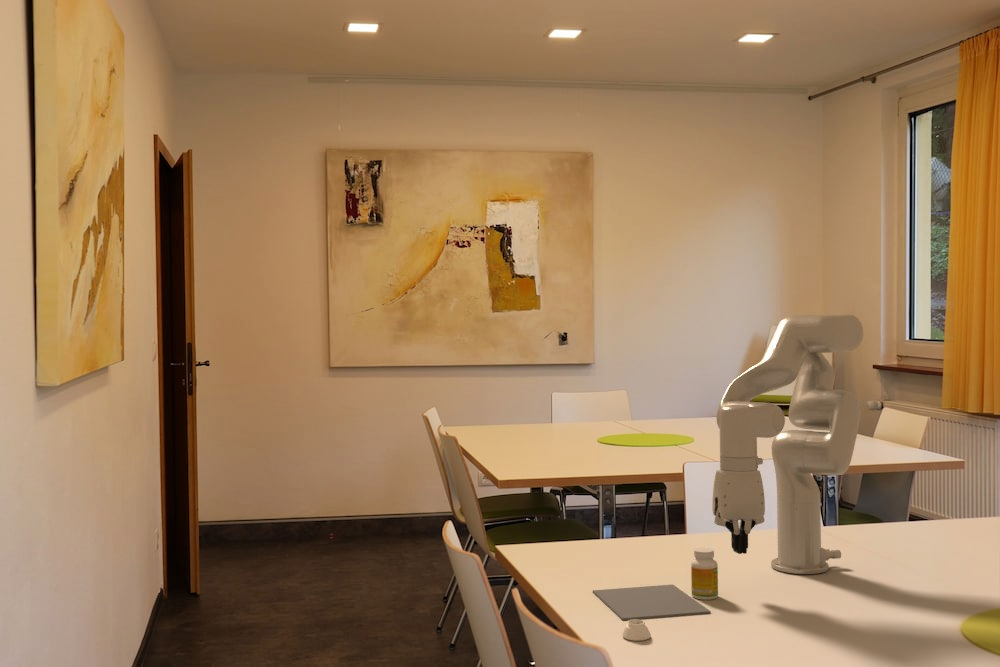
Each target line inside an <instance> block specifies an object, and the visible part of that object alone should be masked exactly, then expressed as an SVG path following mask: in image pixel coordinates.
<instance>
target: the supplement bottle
mask: <svg viewBox="0 0 1000 667" xmlns="http://www.w3.org/2000/svg"><path fill="white" fill-rule="evenodd" d="M693 553H694V554H693V556H694V559H692V561H691V563H690V568H691V570H690V572H691V573H690V574H691V576H690V577H691V578H690V579H691V581H690V582H691V597H692V598H693V599H697V600H702V601H703V600H704V601H709V600H715V599H717V598H718V597H719V578H718V576H719V574H718V573H719V571H718V570H719V569H718V562H717V560H715V559H714V557H715V550H714V549H712V548H709V547H707V548H706V547H698V548H695V549H693Z"/></svg>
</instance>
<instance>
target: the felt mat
mask: <svg viewBox="0 0 1000 667" xmlns="http://www.w3.org/2000/svg"><path fill="white" fill-rule="evenodd" d="M592 593H593V594H594V595H595V597H597V598H598V599H599V600H600V601H601V602H602V603H603V604H605V606H607V608H609V609H610V610H611V611H612V612H613V613H614V614H615V616H617V617H618V618H619V619H620V620H621V621H629V620H634V619H638V620H643V619H644V620H645V619H655V618H656V619H657V618H658V619H659V618H667V617H668V618H669V617H680V616H682V617H683V616H694V615H706V614H707V615H709V614H712V612H711V610H710V609H708V608H707V607H706V606H704V605H703V604H702V603H700V602H698V600H696V599H695V598H694V597H692V596H690V595H689V594H687V593H686V592H684V591H683V590H681V589H680V588H678V586H676V585H674V584H663V585H648V586H635V587H634V586H633V587H622V588H608V589H607V588H605V589H593V590H592Z"/></svg>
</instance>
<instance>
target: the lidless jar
mask: <svg viewBox="0 0 1000 667" xmlns="http://www.w3.org/2000/svg"><path fill="white" fill-rule="evenodd" d="M621 633H622V634H621V635H622V636H621V637H623V638H624V639H625V640H628V641H631V642H643V641H646V640H648V639H649V640H650V638H651V636H652V634H651V632H650V630H649V628H648V626H647V624H646V621H645V620H643V619H633V620H627V624H626V625H625V627H624V629H623V631H622V632H621Z"/></svg>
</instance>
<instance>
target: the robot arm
mask: <svg viewBox="0 0 1000 667" xmlns="http://www.w3.org/2000/svg"><path fill="white" fill-rule="evenodd" d="M863 338H864V327H863V324H862V322H861V321H860V319H859V318H858V317H857V316H856V315H853V314H813V315H811V314H810V315H789V316H787V317H784V318H783V319H782V320H780V321H779V322H778V324H777V325H776V328H775V329H774V331H773V334H772V336H771V338H770V340H769V342H768V344H767V347H766V349H765V351H764V353H763V355H762V358H761V359H760V361H759V362H757V364H754V365H753V366H752V367H751V366H750V367H749V368H748V369H747V370H746V371H744V372H743V373H742V374H740V375H739V376H737V377H736V378H735V379H734V380H733V381H732V382H730V384H729V385H728V387H727V388H726V390H725V392H724V393H723V396H722V398H721V400H720V403H719V405H718V408H717V410H716V411H717V412H716V424H717V427H718V429H719V470H716V472H715V475H714V476H715V477H714V481H713V482H714V483H713V489H712V490H713V491H712V506H711V507H712V514H713V516H715V517H714V521H713V522H714V524H715V525H716V526H719V527H725V528H726V529H727V530H728V531H729V532H730V533H731V534H730V536H731V541H730V542H731V549H732V551H733V552H734V553H737V554H739V555H742V554H744V555H745V554H747V553H748V548H749V534H751V531H752V530H753V528H754V527H755V526H757V525H759V524H763V523H765V517H764V516H765V514H766V501H765V492H764V483H763V478H762V474H761V471H760V470H758V469H759V465H763V464H764V459H763V458H762V457H759V456H758V438H763V439H768V438H769V439H771V438H773V440H772V443H771V457H772V460H773V461H772V462H773V465H774V471H775V479H776V509H777V510H776V516H777V518H776V520H777V522H776V523H777V524H776V525H777V557H776V558H775V557H774V558H773V559H772V560H771V562H770V565H771V566H770V567H771V568H773V570H776V571H779V572H782V573H787V574H796V575H817V574H822V573H825V572H828V571H829V563H828V562H827V561H829V560H830V559H832V560H834V559H835V560H836V559H837V560H839V559H841V558H842V552H841V550H839V549H834V550H833V549H832V550H830V548H828V549H827V548H823V547H822V526H821V524H822V523H821V521H822V520H821V519H822V518H821V517H822V516H821V491H820V488H819V485H818V483H817V481H816V480H815V478H814V476H813V475H812V474H814V475H815V474H816V475H826V476H841V475H843V474H845V473H846V472H847V471H848V470H849V468H850V465H851V463H852V459H853V455H854V450H855V445H856V441H857V438H858V437H857V436H858V432H859V427H860V423H861V414H862V413H861V412H862V410H861V403H860V400H859V398H858V396H857V395H856V394H855V393H854V392H852V391H849V390H844V389H834V387H835V386H834V384H835V381H836V380H835V379H836V373H835V369H834V368H833V366H832V364H831V363H830V362H829V360H828V358H826V356H824V353H828V354H829V353H844V352H853V351H855V350H856V349H858V347H859V346H861V343H862V341H863ZM794 381H795V383H794V388H793V391H792V395H791V399H790V404H789V406H788V407H789V408H788V419H789V422H790V423H791V425H793V426H794V427H797V428H798V429H790V430H789V429H788V430H784V428H785V423H786V417H785V413H784V411H783V410H782V408H781V407H780V406H778V405H777V404H775V403H771V402H764V401H762V402H761V401H760V402H759V401H757V402H756V401H752V400H753V399H755V398H756V397H759V396H761V395H762V394H763V395H764V394H767V393H770V392H772V391H777V390H779V389H782V388H783V387H784V388H785V387H786V386H789V385H791V384H792V383H793V382H794ZM799 428H800V429H801V430H799ZM803 429H804V430H803ZM782 430H784V431H782Z"/></svg>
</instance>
